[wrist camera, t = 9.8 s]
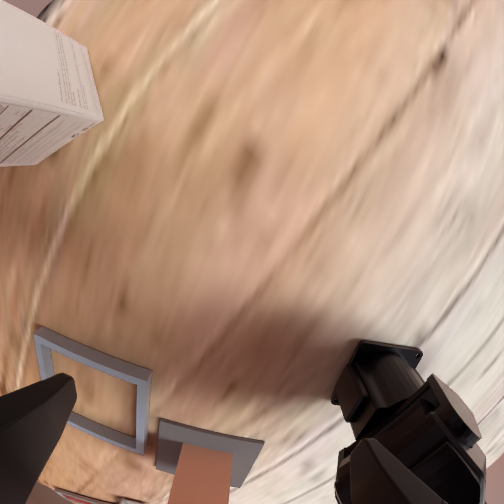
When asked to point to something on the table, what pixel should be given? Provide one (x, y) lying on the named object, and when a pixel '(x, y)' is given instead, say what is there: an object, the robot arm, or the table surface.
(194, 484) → the block
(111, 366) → the blue-grey square frame
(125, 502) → the adjustable wrench
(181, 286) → the table surface
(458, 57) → the table surface
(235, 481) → the place mat
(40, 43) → the supplement box
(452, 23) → the table surface
